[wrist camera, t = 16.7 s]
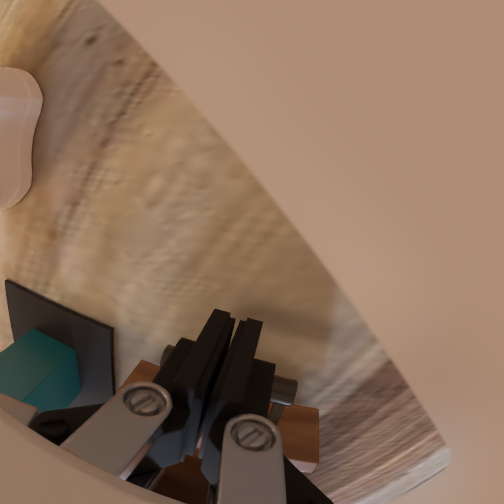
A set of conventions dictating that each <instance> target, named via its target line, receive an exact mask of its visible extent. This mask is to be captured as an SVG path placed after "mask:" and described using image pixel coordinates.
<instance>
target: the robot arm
mask: <svg viewBox="0 0 504 504" xmlns="http://www.w3.org/2000/svg"><path fill="white" fill-rule="evenodd" d="M230 315H231V313H229V312H226V311H222V310H219V309H214V311H213V312H212V314H211V316H210V318H209V319H208V321H207V323H206V324H205V326H204V328H203V330H202V331H201V333H200V335H199V337H198V338H197V340H196V342H195V341H192V340H189V339H186V338H181V339H180V340H179V341H178V343H177V344H176V346H175V347H174V349H173V350H172V352H171V353H170V355H169V356H168V358H167V359H166V361H165V363H164V364H163V366H162V367H161V369H160V370H159V372H158V373H157V375H156V376H155V378H154V379H153V381H152V382H146V381H138V382H133V383H129V384H127V385H126V386H124V387H123V388H121V389H120V390H119V391H118V392H117V393H116V394H115V395H114V396H113V397H112V398H111V399H110V400H109V401H107V402H106V403H102V404H95V405H88V406H81V407H74V408H66V409H57V410H49V411H45V412H39V410H38V408H37V407H35V406H32V405H29V404H27V403H24V402H22V401H19V400H17V399H15V398H12V397H10V396H8V395H5V394H3V393H1V392H0V504H187V503H183V502H180V501H177V500H174V499H171V498H168V497H166V496H163V495H160V494H157V493H155V492H152V490H153V489H154V488H155V486H156V485H157V483H158V482H159V481H160V479H161V478H162V476H163V475H164V474H165V472H166V470H167V467H168V466H170V465H174V464H177V463H179V462H184V459H185V457H186V454H188V455H191V456H193V454H194V452H195V449H196V447H197V444H198V441H199V439H200V436H201V434H202V431H203V435H202V440H201V445H200V449H199V454H198V458H201V459H203V460H202V464H201V469H200V470H201V471H202V473H203V474H204V476H205V477H206V478H207V480H208V481H209V485H208V491H207V500H206V504H334V503H333V502H332V501H331V500H330V499H329V498H328V497H327V496H325V495H324V494H323V493H322V492H321V491H320V490H319V489H318V488H317V487H316V486H315V485H314V484H313V483H312V482H311V481H310V480H309V479H308V478H307V477H305V476H304V475H303V474H302V473H301V472H300V471H299V470H298V469H297V468H296V467H295V466H294V465H293V464H292V463H291V462H290V461H289V460H288V458H287V457H286V456H285V455H284V454H283V449H282V437H281V434H280V430H279V429H278V428H277V426H276V425H275V424H274V423H273V422H271V421H270V420H269V419H267V416H268V410H269V404H270V398H271V392H272V386H273V380H274V373H275V367H276V364H274V363H270V362H266V361H262V360H258V359H254V356H255V352H256V348H257V344H258V340H259V336H260V332H261V328H262V324H263V322H262V321H258V320H255V319H251V318H247V321H242V320H240V322H239V324H238V327H237V330H236V332H235V335H234V337H233V340H232V342H231V337H232V333H233V329H234V324H235V318H231V317H230ZM230 342H231V345H230ZM229 346H230V347H229ZM203 428H204V430H203Z"/></svg>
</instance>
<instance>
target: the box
mask: <svg viewBox="0 0 504 504" xmlns="http://www.w3.org/2000/svg"><path fill="white" fill-rule="evenodd" d="M0 392H1V393H3V394H5V395H8V396H10V397H12V398H15V399H17V400H19V401H22V402H24V403H27V404H29V405H32V406H35V407H37V408H38V410H39V412H45V411H49V410H57V409H66V408H68V407H69V405H70V404H71V403H72V402H73V401H74V400H75V399H76V397H77V396H78V395H79V394H80V393H81V387H80V381H79V374H78V366H77V358H76V350H75V349H73V348H71V347H69V346H67V345H65V344H63V343H61V342H59V341H57V340H55V339H53V338H51V337H49V336H47V335H45V334H44V333H42V332H40V331H38V330H36V329H34V328H33V329H31V330H30V331H29V332H27V333H26V334H25V335H23V336H22V337H21V338H19V339H18V340H17V341H15V342H14V343H13V344H11V345H10V346H9V347H7V348H6V349H5V350H3V351H2V352H1V353H0Z"/></svg>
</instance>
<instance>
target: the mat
mask: <svg viewBox="0 0 504 504" xmlns="http://www.w3.org/2000/svg"><path fill="white" fill-rule="evenodd" d="M5 289H6V297H7V304H8V310H9V316H10V322H11V328H12V333H13V338H14V342H15V341H17V340H18V339H19V338H21V337H22V336H23V335H25V334H26V333H27V332H29V331H30V330H31V329H33V328H34V329H36V330H38V331H40V332H42V333H44V334H45V335H47V336H49V337H51V338H53V339H55V340H57V341H59V342H61V343H63V344H65V345H67V346H69V347H71V348H73V349H75V350H76V358H77V366H78V374H79V381H80V387H81V393H80V394H79V395H78V396H77V397H76V399H75V400H74V401H73V402H72V403H71V404H70V405H69V407H68V408H74V407H81V406H88V405H95V404H102V403H106V402H107V401H109V400H110V399H111V398H112V397H113V396H114V395H115V385H114V365H113V328H111V327H109V326H106V325H104V324H101V323H99V322H97V321H94V320H92V319H89V318H87V317H85V316H82V315H80V314H78V313H76V312H73V311H71V310H69V309H67V308H64V307H62V306H60V305H58V304H56V303H53V302H51V301H49V300H47V299H45V298H43V297H41V296H39V295H37V294H35V293H33V292H31V291H29V290H27V289H25V288H23V287H21V286H19V285H17V284H15V283H13V282H11V281H9V280H5Z"/></svg>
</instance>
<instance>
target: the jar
mask: <svg viewBox="0 0 504 504" xmlns="http://www.w3.org/2000/svg"><path fill="white" fill-rule="evenodd" d="M42 103H43V96H42V93H41V90H40V87H39V85H38V83H37V82H36V80H35V79H34V77H33V76H32V75H31V74H30V73H28V72H27V71H25V70H22V69H17V68H11V67H4V68H3V67H0V211H2V210H5V209H8V208H11V207H13V206H14V205H16V204H17V203H18V202H19V201H21V199H22V198H23V197H24V196H25V195H26V193H27V192H28V190H29V188H30V187H31V181H32V162H31V157H32V143H33V137H34V132H35V128H36V124H37V121H38V118H39V116H40V113H41V108H42Z"/></svg>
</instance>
